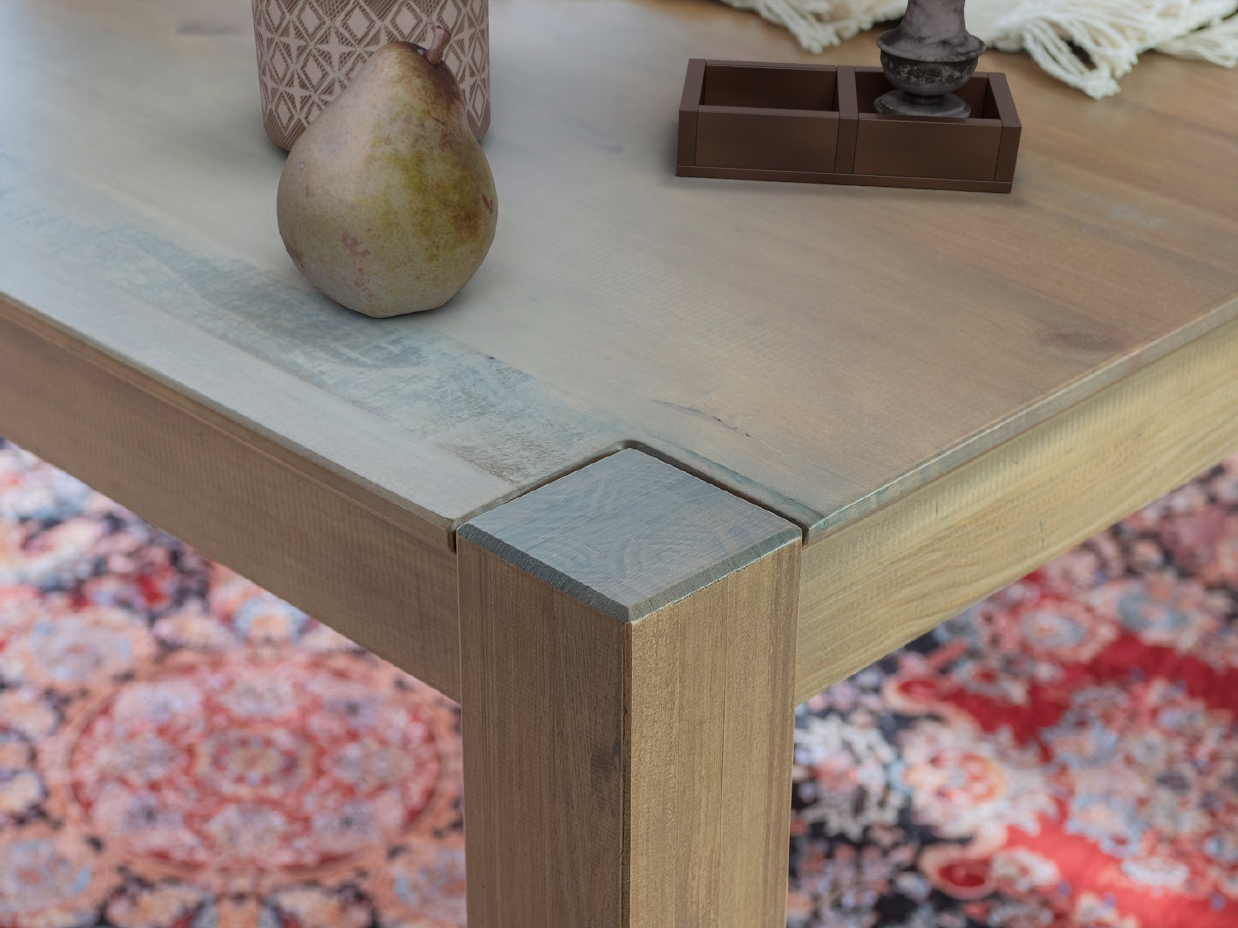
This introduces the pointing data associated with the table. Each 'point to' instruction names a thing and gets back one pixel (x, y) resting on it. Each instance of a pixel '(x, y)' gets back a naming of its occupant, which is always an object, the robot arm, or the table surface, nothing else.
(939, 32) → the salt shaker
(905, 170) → the rack
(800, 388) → the table surface
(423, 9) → the planter
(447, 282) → the fruit
